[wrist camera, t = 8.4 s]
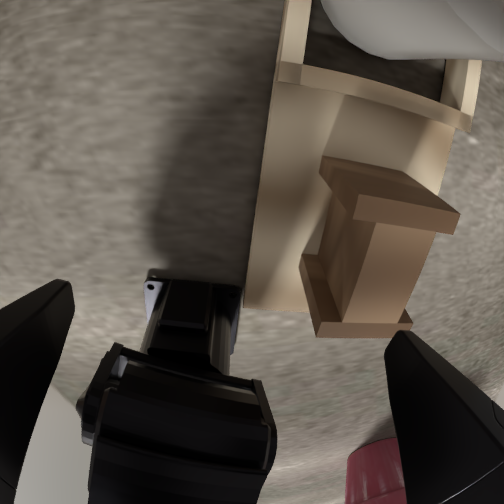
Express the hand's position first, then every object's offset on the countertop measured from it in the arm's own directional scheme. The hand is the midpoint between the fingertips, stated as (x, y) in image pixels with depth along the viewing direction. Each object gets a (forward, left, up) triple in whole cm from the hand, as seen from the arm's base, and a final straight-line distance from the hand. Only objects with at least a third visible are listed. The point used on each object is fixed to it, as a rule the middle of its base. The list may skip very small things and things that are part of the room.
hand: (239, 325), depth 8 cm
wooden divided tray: (+4, -6, -12) cm, 14 cm away
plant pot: (-36, -23, -12) cm, 45 cm away
